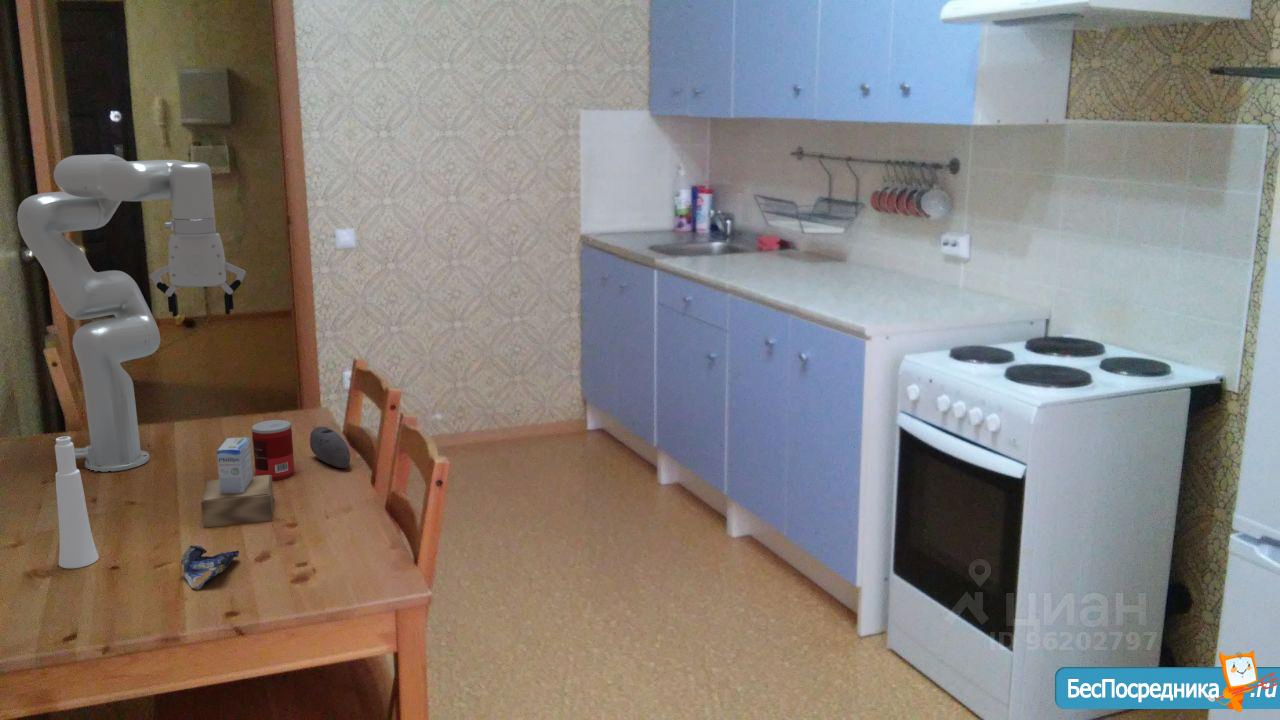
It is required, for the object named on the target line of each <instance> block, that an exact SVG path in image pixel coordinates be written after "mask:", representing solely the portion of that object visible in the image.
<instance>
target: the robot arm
mask: <svg viewBox="0 0 1280 720" xmlns="http://www.w3.org/2000/svg"><path fill="white" fill-rule="evenodd" d="M53 178H54V183H55V184H56V185H57V186H58V188H59V189H60V190H61V191H52V192H51V191H50V192H43V193H37V194H33V195H31V196H28V197H27V198H25V199H23V200H22V202H21V203H20V204H19V206H18V210H17V214H16V215H17V226H18V229H19V232H20V236H21V238H22V239H23V241H24V243H25V244H26V246H27V247H28V249H29V251H30V252H31V253H32V255H33V256H34V257H35V258H36V259H37V261H38V262H39V264H40V265H41V267H42V269H43V270H44V272H45V276H46V277H47V279H48V281H49V284H50V286H51V288H52V290H53V292H54V293H55V296H56V298H57V300H58V302H59V304H60V306H61V308H62V309H63V311H64V313H65V314H66V315H67V316H68V317H69V318H71V319H73V320H90V319H94V318H95V319H97V318H102V317H107V316H112V315H113V316H114V317H110V318H106V319H100V320H96V321H91V322H88V323H85V324H83V325H82V326H81V327H78V328H77V330H76V331H75V333H73V336H72V347H73V350H74V351H73V352H74V354H75V357H76V359H77V362H78V365H79V369H80V374H81V375H80V376H81V380H82V385H83V393H84V400H85V409H86V417H87V425H88V433H89V442H90V444H89V445H86V446H85V447H74V452H75V460H76V459H77V460H78V459H79V460H80V459H85V461H84V467H85V469H87V468H88V469H90V470H89V471H91V470H94V471H93V472H97V471H101V472H102V473H106V472H107V473H108V471H111V472H121V471H126V470H130V469H134V468H137V467H140V466H142V465H144V464H146V463H147V462H149V460H150V454H149V452H147V451H145V450H141V443H140V432H139V424H138V415H137V407H136V406H137V405H136V398H135V389H134V383H133V382H134V381H133V380H132V378H131V376H130V375H129V373H128V372H127V371H126V370H125V369H124V367H122V365H121V363H124V362H126V361H131V360H135V359H136V360H137V359H140V358H141V359H142V358H145V357H148V356H150V355H152V354H155V352H157V350H158V349H159V347H160V344H161V334H160V330H159V327H158V325H157V322H156V320H155V318H154V316H153V314H152V312H151V310H150V307H149V306H148V303H147V302H146V300H145V298H144V295H143V294H142V291H141V289H140V287H139V285H138V284H137V282H136V281H135V280H134V279H133V278H132V277H131V275H129V274H128V273H126V272H124V271H121V270H117V269H116V270H114V269H112V270H103V271H99V272H97V271H95V270H94V269H93V268H92V266H91V265H90V263H89V261H88V259H87V256H86V255H85V253H84V252H83V250H82V249H81V248H80V247H79V246H78V245H76V243H74V242H73V241H71V240H70V239H69V238H66V237H65V236H64V235H63V233H68V232H79V231H88V230H90V231H91V230H97V229H100V228H102V227H105V226H106V224H108V223H109V222H110V220H111V219H112V217H113V215H114V214H115V213H116V211H117V209H118V208H119V206H120V204H121V203H122V202H147V201H158V200H171V201H170V203H171V204H170V205H171V214H172V219H171V220H169V221H165V222H164V227H165V229H166V230H168V229H169V230H171V231H172V232H173V233H172V234H170V235H169V239H168V264H167V265H165V266H163V267H161V268H159V269H157V270H155V271H153V272H152V273H150V274H149V277H150V279H151V281H152V282H153V283H154V285H155V286H156V287H157V289H158V290H159V291H160V292H162V293H164V295H165V296H166V297H167V303H168V312H169V313H172V317H177V316H178V315H179V305H178V296H177V293H176V290H177V289H178V288H196V287H197V288H199V287H202V288H205V287H221V289H222V290H223V291H224V294H223V298H224V309H225V310H224V311H225V314H226V315H230V314H231V310H234V309H235V308H234V294H233V293H235V291H236V290H237V289H238V288H239V287H240V286H241V285H242V282H243V281H244V278H245V276H246V275H247V271H246V270H245V269H242V268H240V267H238V266H236V265H233V264H231V263H229V262H227V261H226V257H225V256H226V255H225V250H224V245H223V241H222V238H221V235H220V233H219V232H217V229H216V228H217V227H216V217H215V204H214V202H215V201H214V193H213V192H214V191H213V179H212V170H211V167H210V166H209V165H208V164H207V163H204V162H198V161H197V162H196V161H193V162H192V161H190V162H189V161H183V160H179V159H151V160H148V159H147V160H135V161H134V160H131V161H129V160H128V161H127V160H126V159H124V158H123V157H121V156H118V155H115V154H112V153H111V154H110V153H109V154H107V153H106V154H78V155H75V154H74V155H70V156H68V157H64V158H62V160H60V161H59V162H58V163H57V164H56V166H55V167H54V170H53ZM227 271H229V272H230V273H233V274H235V275H236V278H235V280H234V281H232V283H230V282H229V281H227V275H228V273H227ZM167 273H168V274H169V281H170V286H168V284H166V283H165V282H164V281H163V280H162V278H161V277H162V276H163V275H165V274H167ZM88 469H87V470H88ZM101 472H100V473H101Z"/></svg>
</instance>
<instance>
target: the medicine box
mask: <svg viewBox="0 0 1280 720" xmlns="http://www.w3.org/2000/svg"><path fill="white" fill-rule="evenodd" d="M251 443H252V442H251V438H249V437H228V438H227V437H226V439H225V441H224V442H223V443H222V444H221V445H220V447H219V448H218V449H217V451H216V459H217V461H216V462H217V468H218V469H217V470H218V471H217V472H218V480H219V484H220V493H221V494H237V493H244V492H245V490H246V488H247V487H248V485H249V484H250V482H251V480H252V479H253V476H254V474H253V473H254V472H253V459H252V447H251V446H252V445H251Z"/></svg>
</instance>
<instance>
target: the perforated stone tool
mask: <svg viewBox="0 0 1280 720" xmlns="http://www.w3.org/2000/svg"><path fill="white" fill-rule="evenodd" d="M309 446H310V450H311V451H312V453H313V454H314V455H315V456H316V457H317V458H318V460H320V461H322V462H323V463H326V464H327V465H330V466H332V467H335V468H338V469H345V468H347V467H348V466H349V465H350V462H351V452H350V449H349V446H348V444H347V442H346V441H345V440H344V438H342V437H341V436H340V435H339V434H338V433H337V432H336V431H335V430H333V429H330V428H329V427H327V426H317V427H315V428H313V430H311V432H310V438H309Z"/></svg>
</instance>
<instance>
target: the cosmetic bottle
mask: <svg viewBox="0 0 1280 720" xmlns="http://www.w3.org/2000/svg"><path fill="white" fill-rule="evenodd" d="M71 440H72V437H71V436H59V437H56V438H55V443H56V444H55V445H54V450H55V451H54V452H55V460H56V467H57V472H55V487H56V488H55V489H56V501H57V517H58V518H57V519H58V530H59V531H58V532H59V553H58V554H59V555H58V556H59V558H58V565H59V567H60V568H63V569H69V570H70V569H71V570H72V569H81V568H85V567H87V566H90V565H93V564H95V563H97V561H98V560H99V554H98V551H97V547H96V545H95V541H94V538H93V534H92V533H93V532H92V529H91V525H90V524H91V523H90V519H89V514H88V509H87V504H86V497H85V492H84V486H83V479H82V475H81V471H80V470H79V468H77V464H76V463H77V461H76V459H75V452H74V448H75V446H74V445H75V444H74V442H72V441H71Z"/></svg>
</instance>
